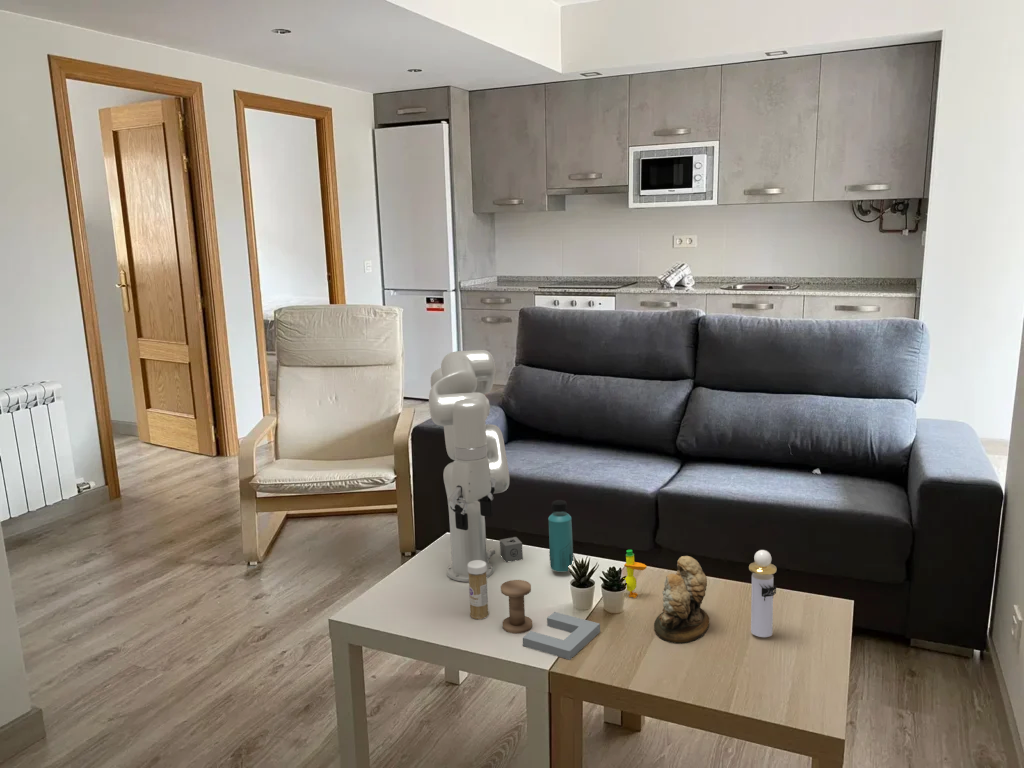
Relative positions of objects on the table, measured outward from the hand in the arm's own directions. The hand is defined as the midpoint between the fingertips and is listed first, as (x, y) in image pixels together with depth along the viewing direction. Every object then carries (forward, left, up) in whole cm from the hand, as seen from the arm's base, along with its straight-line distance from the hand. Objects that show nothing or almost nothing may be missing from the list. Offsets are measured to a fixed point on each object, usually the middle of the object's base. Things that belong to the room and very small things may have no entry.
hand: (474, 522), depth 186 cm
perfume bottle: (-23, +61, -24) cm, 69 cm away
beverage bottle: (-31, +5, -24) cm, 40 cm away
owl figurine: (-19, +44, -24) cm, 54 cm away
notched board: (0, +23, -24) cm, 33 cm away
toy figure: (-27, +28, -24) cm, 46 cm away
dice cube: (-33, -13, -24) cm, 43 cm away
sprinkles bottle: (0, 0, -24) cm, 24 cm away
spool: (0, +11, -24) cm, 26 cm away
